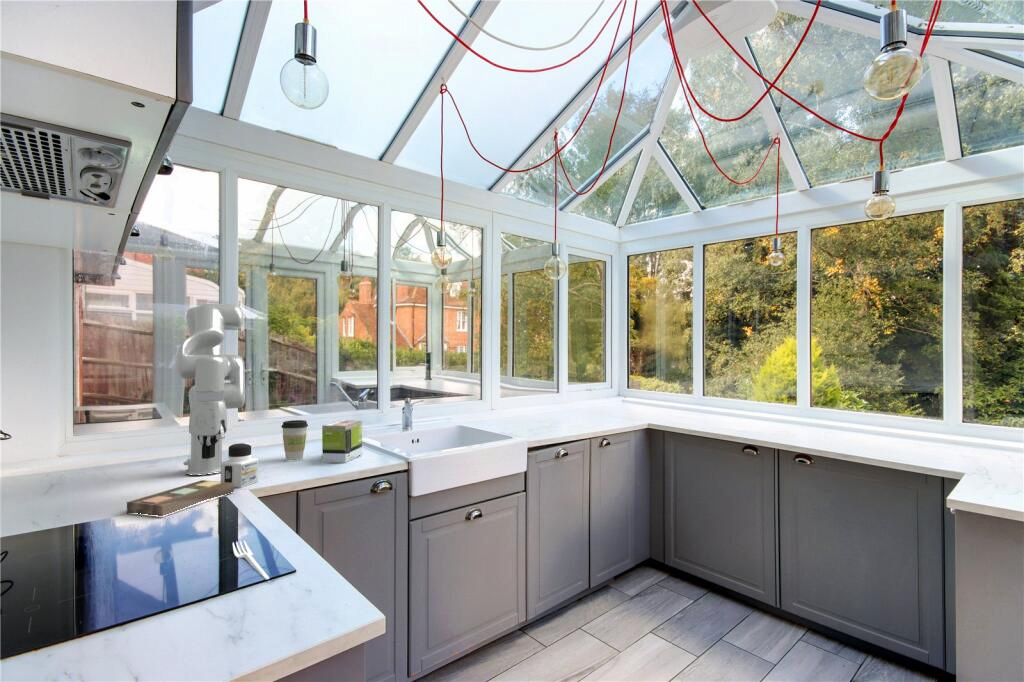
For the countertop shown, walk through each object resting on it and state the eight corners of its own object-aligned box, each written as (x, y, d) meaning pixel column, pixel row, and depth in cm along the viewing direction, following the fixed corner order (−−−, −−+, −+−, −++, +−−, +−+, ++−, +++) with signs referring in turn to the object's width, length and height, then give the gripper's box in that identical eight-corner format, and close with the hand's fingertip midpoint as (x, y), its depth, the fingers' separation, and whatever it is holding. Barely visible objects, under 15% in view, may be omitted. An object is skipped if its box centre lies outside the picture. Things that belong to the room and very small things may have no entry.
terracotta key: (141, 512, 129) (141, 501, 129) (158, 506, 134) (158, 495, 134) (155, 513, 128) (155, 502, 128) (172, 508, 133) (172, 497, 133)
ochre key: (194, 495, 145) (194, 485, 145) (208, 490, 149) (208, 481, 150) (207, 496, 144) (207, 486, 144) (221, 492, 148) (221, 482, 148)
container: (241, 488, 154) (241, 446, 154) (219, 486, 155) (220, 445, 155) (258, 481, 161) (259, 442, 161) (238, 480, 163) (238, 441, 163)
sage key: (169, 503, 137) (169, 492, 137) (184, 498, 142) (185, 488, 142) (183, 504, 136) (183, 493, 136) (198, 499, 141) (198, 489, 141)
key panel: (126, 513, 129) (126, 502, 129) (201, 489, 151) (202, 480, 152) (162, 517, 126) (162, 505, 126) (233, 492, 148) (233, 482, 148)
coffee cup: (301, 462, 190) (301, 423, 190) (276, 461, 190) (276, 423, 190) (311, 456, 200) (312, 420, 200) (287, 456, 200) (288, 419, 200)
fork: (258, 586, 91) (259, 575, 91) (229, 551, 106) (230, 542, 106) (277, 580, 94) (277, 570, 94) (246, 547, 108) (246, 539, 108)
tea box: (340, 454, 204) (340, 419, 205) (362, 455, 203) (363, 419, 203) (321, 462, 190) (321, 424, 190) (345, 463, 188) (346, 425, 188)
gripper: (178, 397, 145) (177, 458, 145) (219, 399, 142) (218, 462, 141) (200, 395, 153) (199, 453, 153) (239, 396, 149) (238, 456, 149)
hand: (208, 457), depth 147 cm, fingers closed
